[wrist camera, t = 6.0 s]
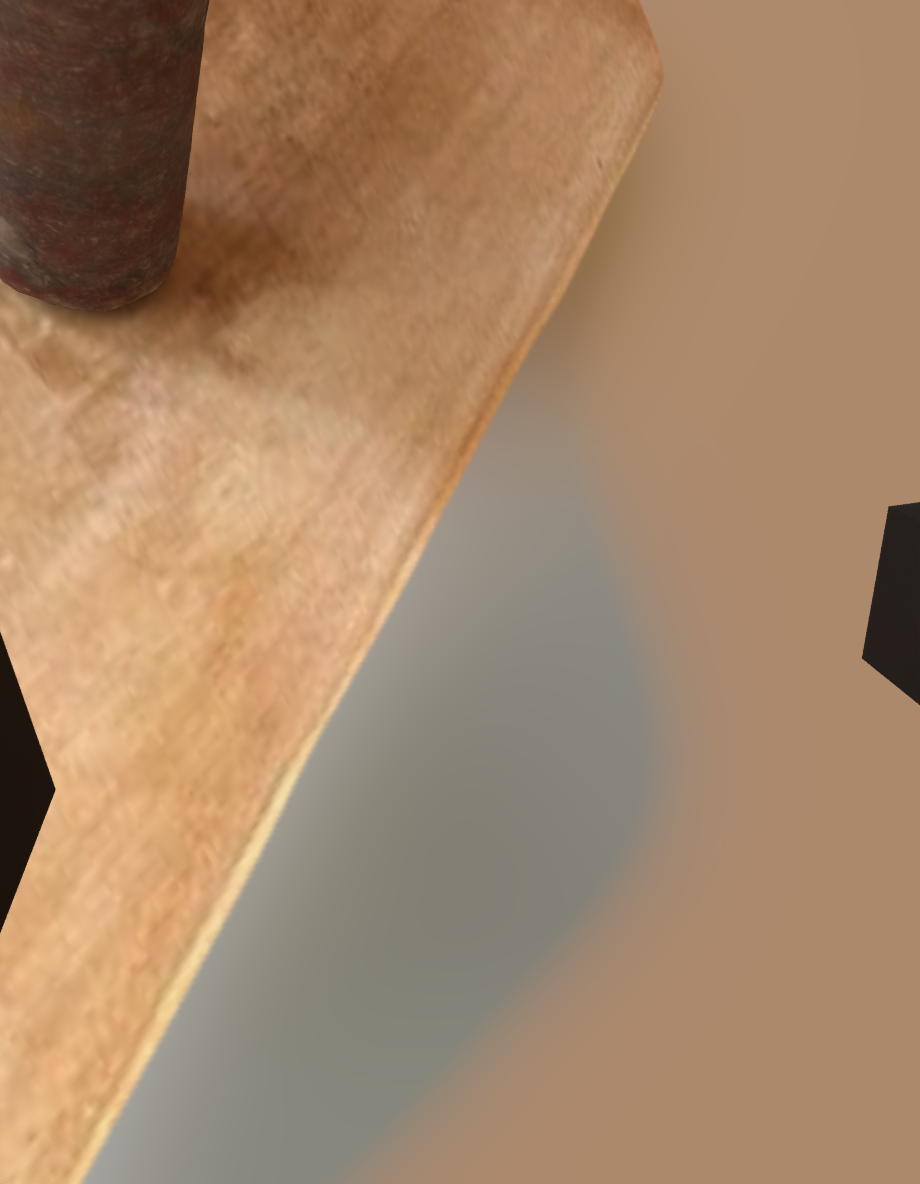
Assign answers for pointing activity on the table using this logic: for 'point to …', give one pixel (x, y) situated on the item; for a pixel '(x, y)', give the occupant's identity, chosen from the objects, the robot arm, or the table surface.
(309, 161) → the table surface
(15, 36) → the candle
